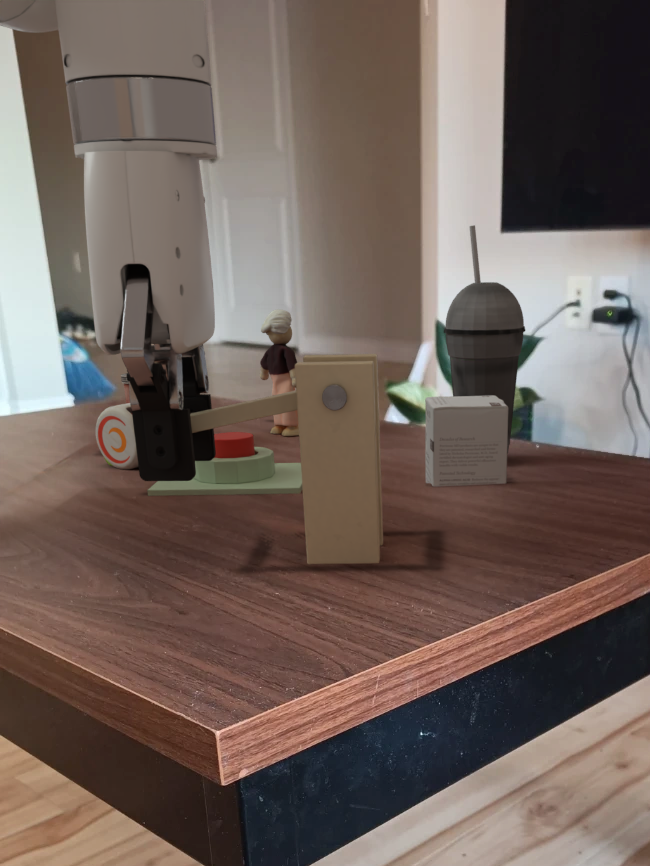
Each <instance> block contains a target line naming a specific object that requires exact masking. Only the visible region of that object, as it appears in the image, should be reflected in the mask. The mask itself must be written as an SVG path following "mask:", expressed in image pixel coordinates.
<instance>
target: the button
mask: <svg viewBox="0 0 650 866" xmlns="http://www.w3.org/2000/svg"><path fill="white" fill-rule="evenodd" d="M214 439H215V450H216V455H215V457H214V458H241V457H249V456H253V455H255V450H254V447H255V438H254V435H253V433H250V432H246V431H230V432H229V431H228V432H220V433H214Z"/></svg>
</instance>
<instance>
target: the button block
mask: <svg viewBox="0 0 650 866" xmlns="http://www.w3.org/2000/svg"><path fill="white" fill-rule="evenodd" d="M254 450H255V455H253V456H249V457H241V458H213V459H212V460H211V461H195V468H196V475H195V477H194V478H193V479H192V480H190V481H155V483H154V484H153V485H151V486H150V487H149V488H148V489H147V491H146V492H147V496H148V497H153V496H154V497H159V496H161V497H162V496H164V497H165V496H167V497H169V496H215V495H216V496H227V495H228V496H229V495H231V496H232V495H233V496H234V495H290V494H292V495H294V494H296V495H297V494H301V492H303V489H302V473H301V462H275V453H274V452H275V451H274V450H272V449H270V448H267V447H263V446H254Z"/></svg>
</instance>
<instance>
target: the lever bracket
mask: <svg viewBox="0 0 650 866" xmlns="http://www.w3.org/2000/svg"><path fill="white" fill-rule="evenodd" d="M378 363H379V361H378V354H377V353H352V354H350V353H349V354H348V353H347V354H346V353H345V354H344V353H343V354H305V355H304V356H303V357H302V362H301V361H299V362H298V361H297V363H296V364H295V379H296V388H295V390H296V395H297V410H298V426H299V435H298V439H299V440H298V441H299V456H300V463H301V473H302V502H303V518H304V519H303V520H304V534H305V550H306V551H305V553H306V564H307V565H355V564H356V565H357V564H358V565H359V564H360V565H361V564H363V565H364V564H365V565H366V564H367V565H368V564H369V565H370V564H380V560H381V547H382V546H383V545H384V522H383V521H384V520H383V519H384V518H383V491H382V490H383V489H382V488H383V487H382V463H381V462H382V459H381V458H382V457H381V454H382V453H381V427H380V426H381V425H380V424H381V423H380V421H381V420H380V399H379V398H380V395H379V394H380V393H379V392H380V391H379V364H378Z"/></svg>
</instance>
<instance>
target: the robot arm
mask: <svg viewBox="0 0 650 866" xmlns="http://www.w3.org/2000/svg"><path fill="white" fill-rule="evenodd" d="M206 9H207V8H206V0H0V27H3V28H7V29H11V30H15V31H19V32H23V33H33V34H34V33H35V34H36V33H37V34H41V33H48V32H49V33H50V32H54V31H55V32H56V31H58V36H59V43H60V44H59V45H60V51H61V58H62V60H61V61H62V66H63V75H64V80H65V81H64V83H65V85H66V86H65V90H66V96H67V97H66V98H67V104H68V113H69V120H70V121H69V122H70V128H71V136H72V141H73V142H72V143H73V150H74V158H77V159H82V160H83V202H84V221H85V222H84V223H85V235H86V249H87V260H88V273H89V282H90V283H89V284H90V293H91V303H92V304H91V305H92V315H93V316H92V317H93V325H94V333H95V340H96V344H97V346H98V347H99V348H100V350H101V351H103V352H104V354H106V355H109V356H115V355H119V354H120V356H121V361H122V363H123V365H124V367H125V368H126V376H127V380H128V381H129V396H130V405H131V409H132V417H133V426H134V434H135V442H136V450H137V458H138V474H139V477H140V479H141V480H142V481H144V482H157V481H190V480H192V479H193V478H194V477H195V475H196V468H195V461H211V460H212V459H213V458H214V457H215V455H216V450H215V439H214V434H215V430H214V429H215V428H213V429H208V430H204V431H199V432H194V433H192V427H191V417H190V409H191V410H192V411H193V412H194V413H196V412H200V411H205V410H209V409H213V406H212V395H211V394H210V393H209V392H210V381H209V374H208V368H207V367H208V366H207V359H206V352H205V347H204V344H206V343H207V342H208V341H210V339H211V338H213V336H214V334H215V329H216V313H215V312H216V311H215V293H214V281H213V270H212V269H213V268H212V258H211V248H210V239H209V228H208V220H207V211H206V205H205V204H206V197H205V196H204V188H203V187H204V186H203V181H202V180H203V179H202V172H201V165H200V161H206V160H212V159H216V158H218V149H217V148H218V147H217V135H216V121H215V111H214V110H215V109H214V95H213V88H212V85H213V84H212V73H211V60H210V45H209V36H208V35H209V33H208V22H207V10H206ZM151 345H154V348H155V350H152V347H151ZM183 408H188V409H183Z"/></svg>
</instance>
